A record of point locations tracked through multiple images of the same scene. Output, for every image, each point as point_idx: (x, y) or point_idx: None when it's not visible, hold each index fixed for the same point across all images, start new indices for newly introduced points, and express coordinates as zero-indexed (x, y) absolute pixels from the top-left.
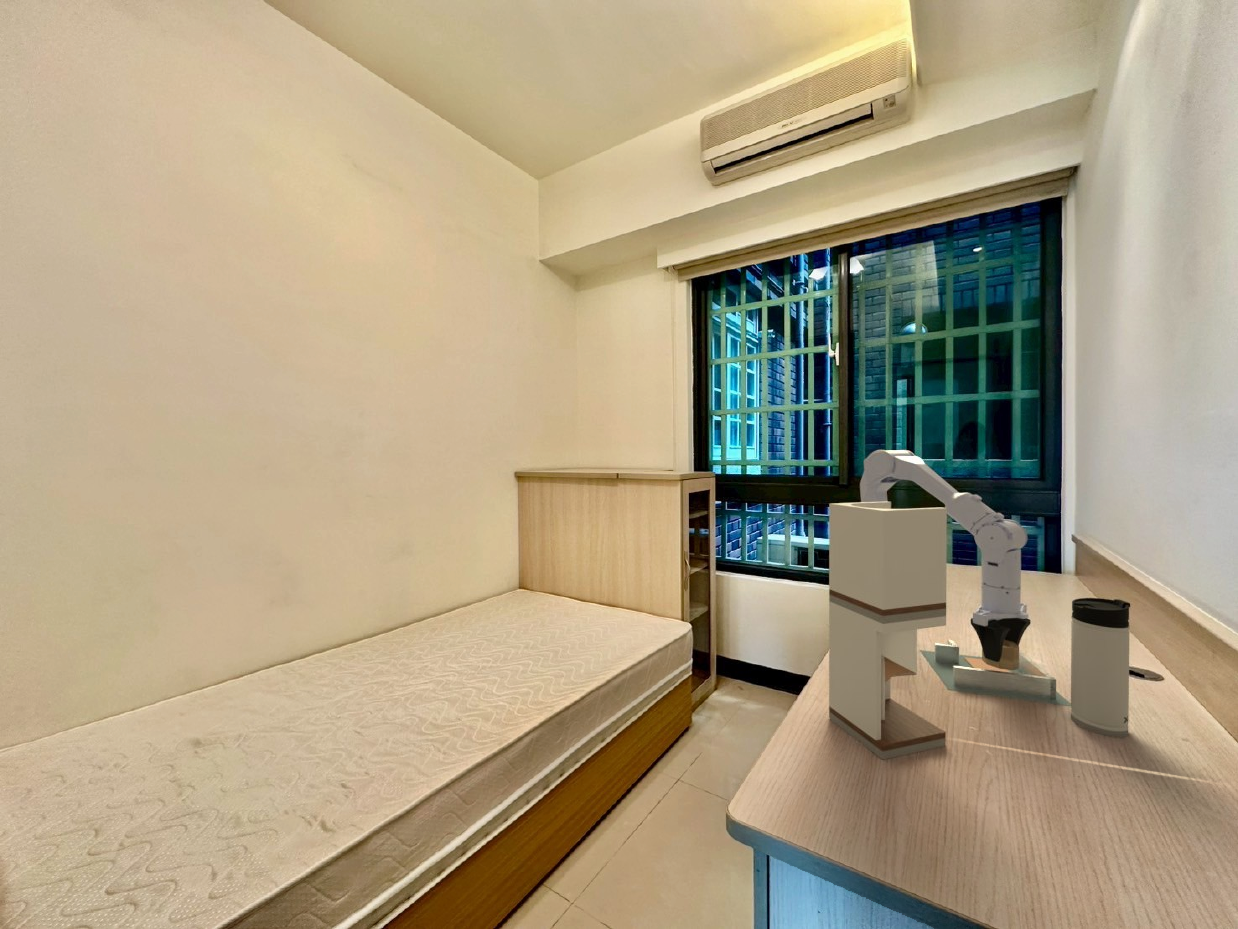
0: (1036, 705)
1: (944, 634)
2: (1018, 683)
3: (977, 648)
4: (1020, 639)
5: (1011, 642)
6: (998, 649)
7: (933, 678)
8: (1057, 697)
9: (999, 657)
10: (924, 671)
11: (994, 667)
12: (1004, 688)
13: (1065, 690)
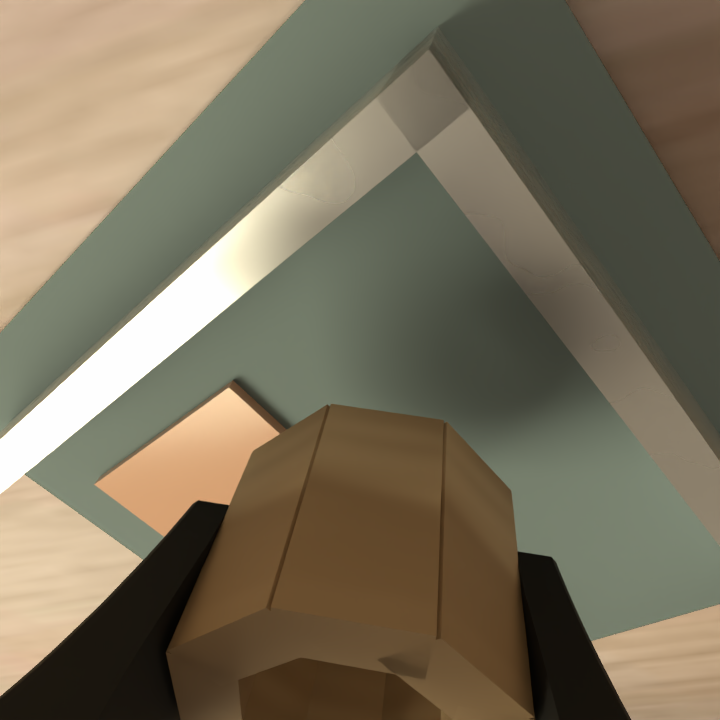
0: (686, 110)
1: (12, 675)
2: (628, 316)
3: (7, 573)
4: (58, 653)
5: (205, 664)
6: (625, 712)
7: (705, 618)
8: (360, 39)
9: (556, 595)
10: (627, 655)
11: (228, 479)
12: (662, 358)
13: (82, 63)
